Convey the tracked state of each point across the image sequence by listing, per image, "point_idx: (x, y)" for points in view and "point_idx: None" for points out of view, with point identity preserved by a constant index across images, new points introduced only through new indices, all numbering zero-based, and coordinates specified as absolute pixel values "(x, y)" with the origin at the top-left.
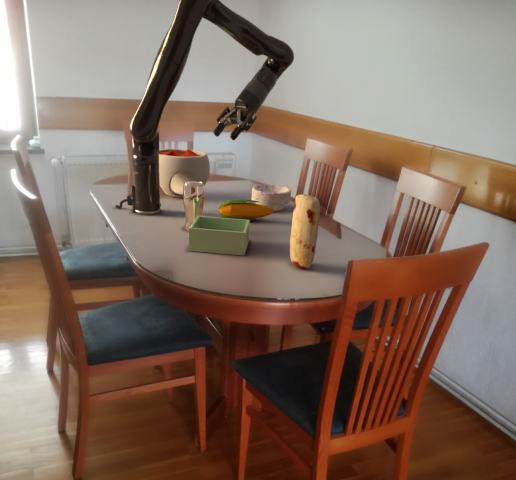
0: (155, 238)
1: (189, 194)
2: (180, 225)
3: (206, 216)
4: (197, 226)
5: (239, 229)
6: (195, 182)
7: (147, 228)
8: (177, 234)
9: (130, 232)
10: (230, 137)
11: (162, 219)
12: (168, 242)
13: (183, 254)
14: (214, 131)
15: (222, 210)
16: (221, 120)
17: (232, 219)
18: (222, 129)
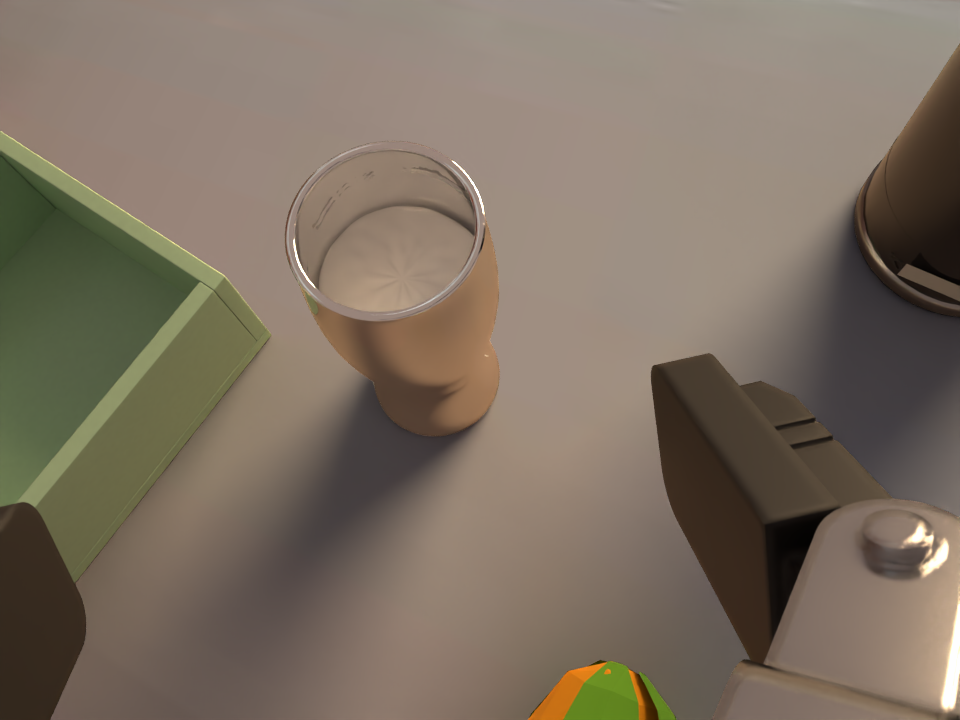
0: (337, 111)
1: (336, 206)
2: (549, 328)
3: (179, 327)
4: (157, 262)
5: None
6: (462, 277)
7: (541, 124)
8: None
9: (491, 26)
10: (50, 535)
11: (727, 266)
12: (242, 150)
13: None
14: (672, 364)
15: (569, 676)
16: (903, 592)
17: (32, 483)
18: (744, 633)
